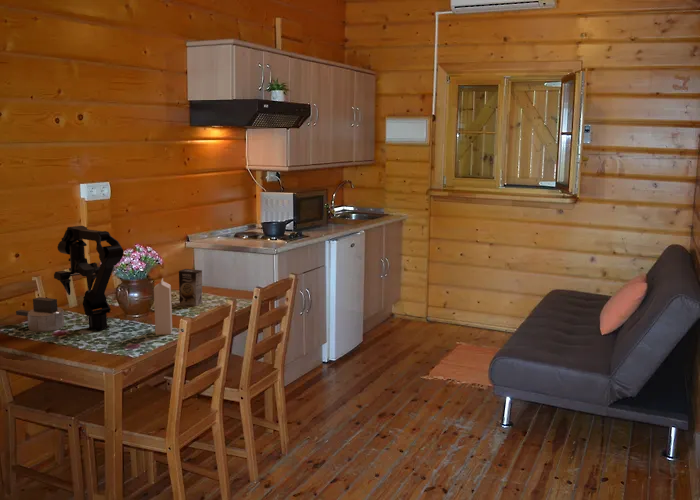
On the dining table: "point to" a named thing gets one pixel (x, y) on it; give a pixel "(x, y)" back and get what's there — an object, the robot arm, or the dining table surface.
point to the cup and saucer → (45, 307)
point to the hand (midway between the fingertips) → (79, 292)
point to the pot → (43, 322)
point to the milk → (163, 308)
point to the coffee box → (190, 287)
